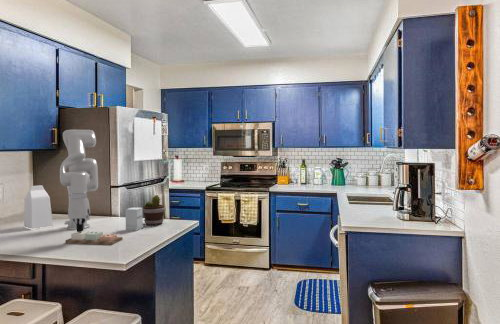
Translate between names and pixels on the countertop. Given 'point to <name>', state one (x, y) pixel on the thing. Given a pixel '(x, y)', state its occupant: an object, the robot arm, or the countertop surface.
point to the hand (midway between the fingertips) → (80, 231)
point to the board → (94, 241)
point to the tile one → (79, 235)
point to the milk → (37, 208)
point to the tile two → (93, 235)
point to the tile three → (108, 237)
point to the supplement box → (134, 219)
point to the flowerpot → (153, 211)
